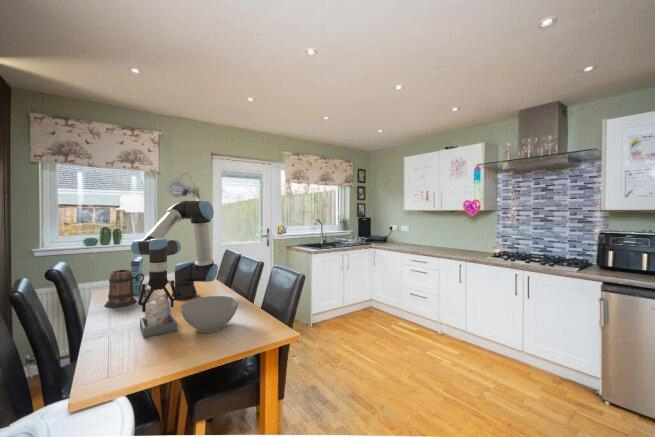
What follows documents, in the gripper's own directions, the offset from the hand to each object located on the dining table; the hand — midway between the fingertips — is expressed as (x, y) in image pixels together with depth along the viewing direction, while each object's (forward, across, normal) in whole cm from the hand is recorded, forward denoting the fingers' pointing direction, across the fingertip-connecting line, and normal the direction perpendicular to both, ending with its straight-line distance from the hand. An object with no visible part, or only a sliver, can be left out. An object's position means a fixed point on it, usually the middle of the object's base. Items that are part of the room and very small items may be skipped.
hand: (158, 316), depth 143 cm
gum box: (+7, -2, +82) cm, 82 cm away
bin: (+6, 0, 0) cm, 6 cm away
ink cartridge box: (+4, 0, 0) cm, 4 cm away
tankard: (+7, -9, +56) cm, 57 cm away
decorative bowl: (+7, +21, -12) cm, 25 cm away
